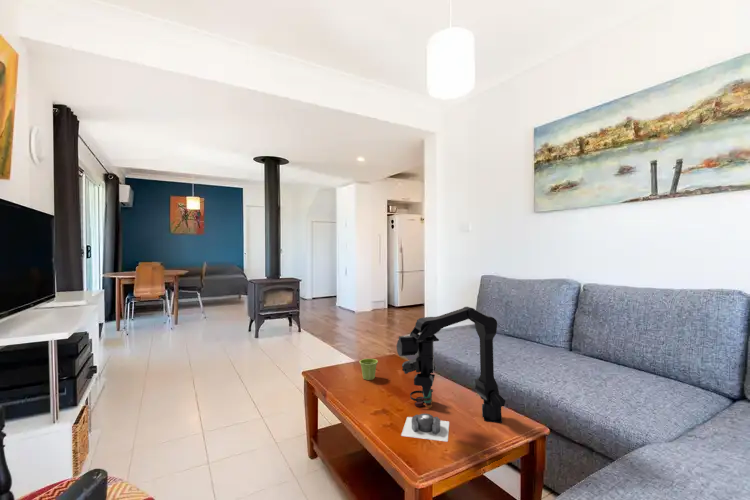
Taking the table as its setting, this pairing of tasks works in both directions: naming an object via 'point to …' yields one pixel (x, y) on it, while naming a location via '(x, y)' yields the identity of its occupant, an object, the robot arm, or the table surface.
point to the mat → (426, 435)
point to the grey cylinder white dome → (425, 422)
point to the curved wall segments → (434, 426)
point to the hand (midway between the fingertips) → (426, 396)
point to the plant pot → (368, 368)
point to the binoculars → (423, 399)
